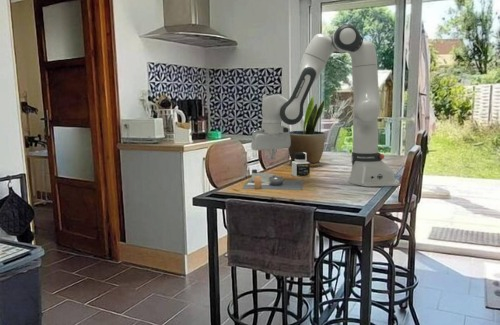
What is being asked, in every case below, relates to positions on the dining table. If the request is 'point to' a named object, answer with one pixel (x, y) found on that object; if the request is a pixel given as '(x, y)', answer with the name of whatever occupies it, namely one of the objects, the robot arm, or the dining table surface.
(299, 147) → the potted plant
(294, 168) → the medicine bottle
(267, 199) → the dining table surface
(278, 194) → the dining table surface
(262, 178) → the crank
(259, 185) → the base plate
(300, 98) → the robot arm
